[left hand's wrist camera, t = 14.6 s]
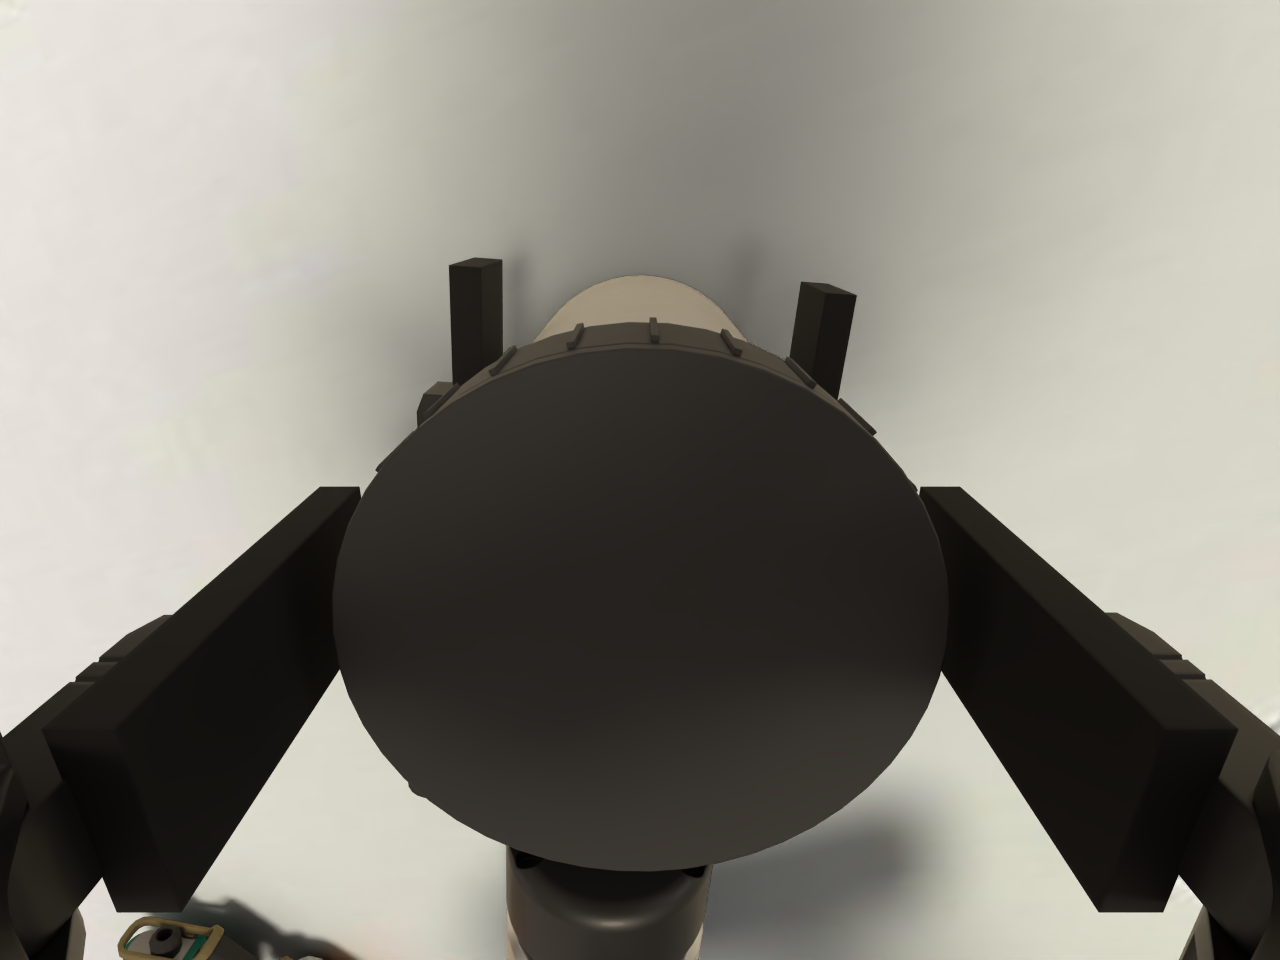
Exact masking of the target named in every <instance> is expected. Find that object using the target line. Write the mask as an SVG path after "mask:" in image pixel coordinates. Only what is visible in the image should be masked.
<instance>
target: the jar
mask: <svg viewBox="0 0 1280 960" xmlns="http://www.w3.org/2000/svg"><path fill="white" fill-rule="evenodd" d="M650 317H656V318H657V323H671V324H677V325H683V326H690V327H696V328H702V329H707V330H711V331H714V332H717V333H721V330H722V329H726V330H728V331H729V332H730V334H731V335H732V336H733V337H734V338H737V339H740V340H743V341H745V342H747V341H746V339H745V338H744V337H743V336H742V334H741V333H740V332H739V331H738V330H737V328H736V327H735V326H734V325H733V323H732V322H731V321H730V320H729V318H728V317H727V316H726V315H725V313H724V312H723V311H722V310H721V309H720V308H719V307H718V306H717V305H716V304H715V303H714V302H713V301H711V300H710V299H709V298H707V297H706V296H704V295H703V294H702V293H700V292H699V291H697V290H695V289H693V288H691V287H689V286H687V285H685V284H682V283H680V282H677V281H674V280H671V279H666V278H662V277H657V276H645V275H637V276H624V277H619V278H614V279H610V280H607V281H604V282H601V283H598V284H596V285H594V286H592V287H590V288H588V289H586V290H584V291H582V292H581V293H579V294H578V295H576V296H575V297H573V298H572V299H570V300H569V301H568V302H567V303H566V304H565V305H564V306H563V307H562V308H561V309H560V310H559V311H558V312H557V313H556V314H555V315H554V317H553V318H552V319H551V320H550V322H549V323H548V324H547V325H546V326H545V328H544V329H543V330H542V331H541V333H540V334H539V335H538V336H537V338H536V339H535V340H534V341H533V343H535V342H537V341H540V340H542V339H545V338H547V337H550V336H552V335H556V334H560V333H564V332H568V331H572V330H574V328H575V326H576V325H577V324H579V323H583V324H584V328H585V327H589V326H596V325H606V324H615V323H624V322H648V323H649V321H650Z"/></svg>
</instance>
